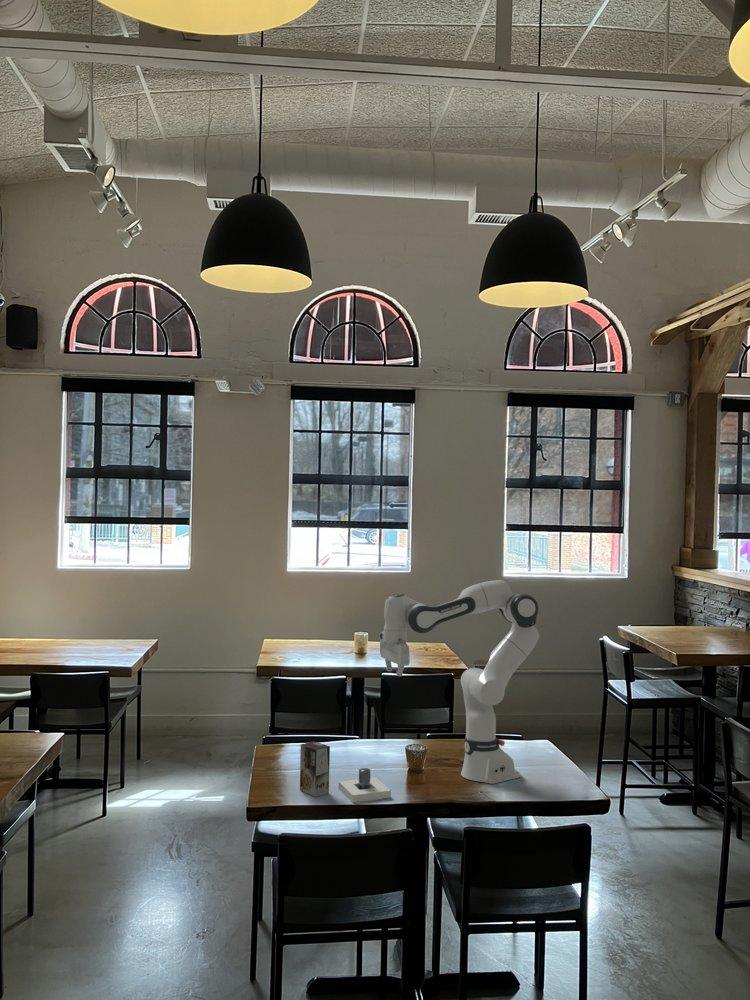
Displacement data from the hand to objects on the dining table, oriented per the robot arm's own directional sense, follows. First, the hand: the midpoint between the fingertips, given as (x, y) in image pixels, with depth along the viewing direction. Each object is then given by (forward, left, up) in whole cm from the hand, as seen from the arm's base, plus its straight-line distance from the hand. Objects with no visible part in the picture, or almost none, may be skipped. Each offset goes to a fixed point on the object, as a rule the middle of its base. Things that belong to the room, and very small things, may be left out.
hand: (394, 673), depth 283 cm
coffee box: (+34, +10, -37) cm, 51 cm away
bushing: (+18, +17, -37) cm, 45 cm away
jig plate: (+18, +17, -37) cm, 45 cm away
